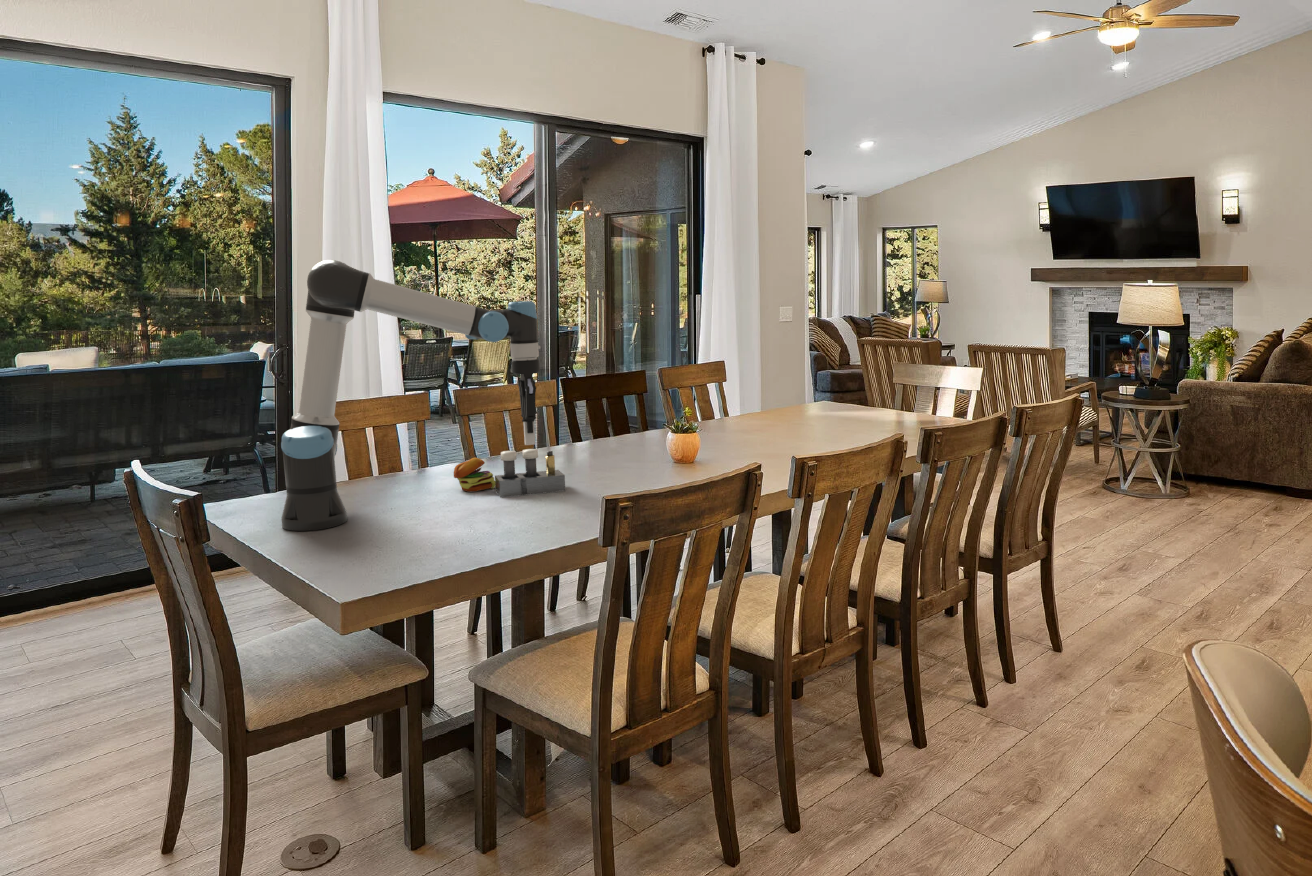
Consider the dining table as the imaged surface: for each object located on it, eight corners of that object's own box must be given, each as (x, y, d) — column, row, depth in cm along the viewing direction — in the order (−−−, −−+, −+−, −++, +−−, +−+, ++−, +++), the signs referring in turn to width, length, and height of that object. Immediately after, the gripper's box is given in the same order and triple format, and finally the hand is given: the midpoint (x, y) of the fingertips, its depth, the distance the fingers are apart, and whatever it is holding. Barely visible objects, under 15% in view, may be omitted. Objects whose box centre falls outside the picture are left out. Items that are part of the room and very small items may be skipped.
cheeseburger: (493, 491, 256) (482, 458, 254) (457, 501, 256) (445, 468, 254) (500, 483, 265) (489, 450, 264) (464, 493, 266) (454, 460, 264)
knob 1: (503, 478, 250) (502, 454, 249) (500, 475, 254) (499, 451, 253) (518, 477, 252) (517, 452, 251) (516, 474, 256) (514, 450, 255)
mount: (500, 497, 249) (499, 481, 248) (495, 491, 256) (494, 475, 256) (565, 490, 255) (564, 474, 254) (559, 485, 262) (558, 469, 261)
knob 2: (525, 476, 252) (523, 452, 251) (522, 473, 256) (521, 449, 255) (540, 475, 254) (539, 450, 252) (537, 472, 258) (536, 448, 256)
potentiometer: (547, 474, 255) (546, 452, 254) (545, 472, 257) (544, 451, 256) (556, 473, 256) (554, 451, 255) (554, 472, 258) (553, 450, 257)
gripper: (543, 359, 245) (548, 446, 249) (534, 356, 257) (538, 439, 261) (515, 361, 242) (520, 449, 246) (507, 357, 254) (512, 441, 258)
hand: (530, 444), depth 254 cm, fingers closed
